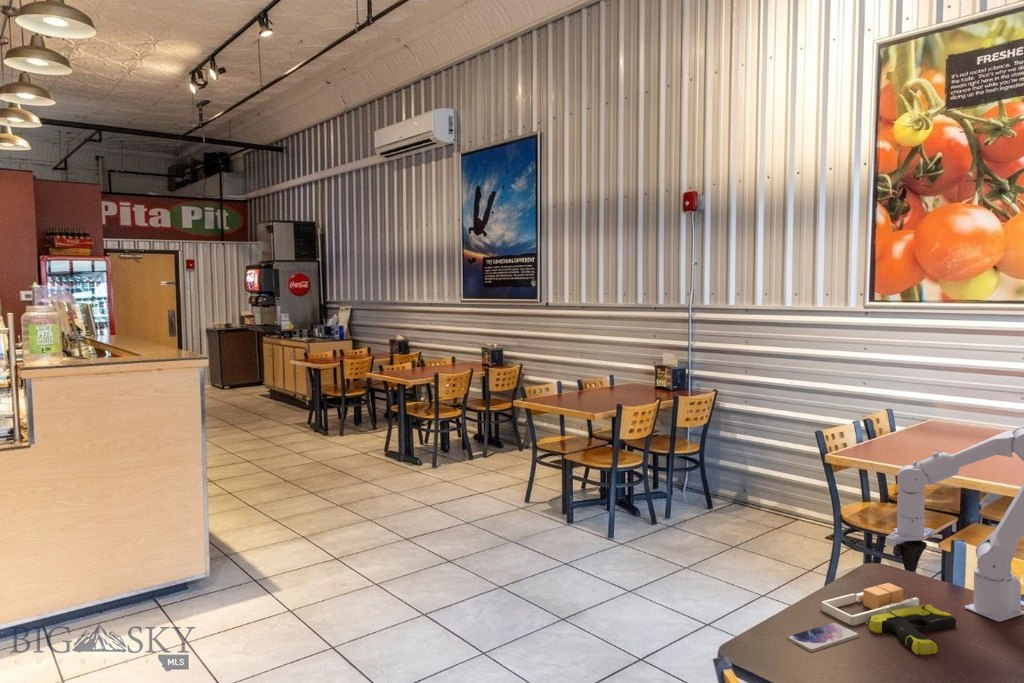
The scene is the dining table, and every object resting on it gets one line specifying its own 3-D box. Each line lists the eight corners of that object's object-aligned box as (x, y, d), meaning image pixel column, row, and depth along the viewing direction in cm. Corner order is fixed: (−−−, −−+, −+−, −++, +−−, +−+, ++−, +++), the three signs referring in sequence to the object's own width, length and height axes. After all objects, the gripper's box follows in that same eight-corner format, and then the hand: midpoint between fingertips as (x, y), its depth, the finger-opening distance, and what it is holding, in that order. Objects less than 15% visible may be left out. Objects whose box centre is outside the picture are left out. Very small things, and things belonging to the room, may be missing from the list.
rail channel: (887, 592, 170) (887, 585, 170) (919, 606, 162) (919, 598, 162) (855, 601, 166) (855, 594, 166) (886, 615, 158) (886, 608, 158)
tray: (853, 601, 166) (853, 593, 166) (885, 616, 158) (885, 607, 158) (820, 609, 162) (820, 601, 162) (852, 625, 154) (852, 617, 154)
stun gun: (989, 631, 145) (928, 602, 159) (917, 646, 139) (861, 614, 154) (988, 644, 145) (927, 614, 159) (917, 659, 140) (860, 626, 154)
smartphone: (785, 636, 149) (833, 621, 155) (785, 640, 149) (833, 625, 155) (811, 650, 143) (861, 634, 149) (811, 654, 143) (861, 638, 149)
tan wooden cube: (875, 602, 165) (875, 586, 165) (890, 608, 162) (890, 592, 161) (863, 605, 164) (863, 589, 164) (877, 612, 160) (878, 595, 160)
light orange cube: (888, 598, 167) (888, 582, 167) (903, 605, 163) (903, 588, 163) (876, 601, 166) (876, 585, 165) (891, 608, 162) (891, 592, 162)
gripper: (916, 506, 172) (915, 559, 173) (874, 514, 167) (874, 569, 168) (943, 514, 166) (942, 569, 167) (901, 523, 160) (900, 579, 161)
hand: (910, 569), depth 167 cm, fingers closed
